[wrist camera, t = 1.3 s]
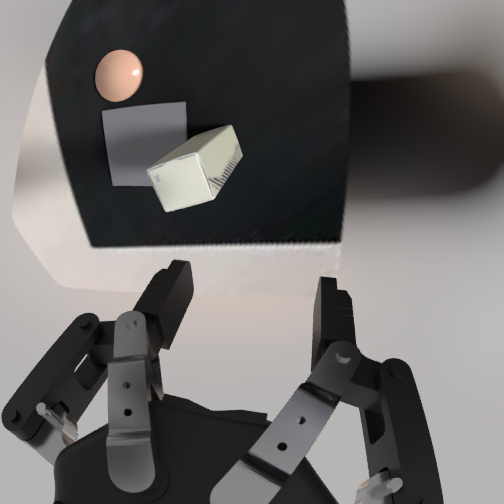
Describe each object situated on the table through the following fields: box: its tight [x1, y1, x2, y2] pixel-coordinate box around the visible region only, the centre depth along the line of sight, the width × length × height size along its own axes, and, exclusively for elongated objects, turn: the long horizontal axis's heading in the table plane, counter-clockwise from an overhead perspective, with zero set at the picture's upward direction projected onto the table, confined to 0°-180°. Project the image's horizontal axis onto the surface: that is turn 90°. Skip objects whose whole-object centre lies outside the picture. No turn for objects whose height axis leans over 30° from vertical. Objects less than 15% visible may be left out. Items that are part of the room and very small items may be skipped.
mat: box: [102, 102, 188, 186], centre depth 35 cm, size 11×12×1 cm
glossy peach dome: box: [95, 50, 143, 102], centre depth 29 cm, size 7×7×1 cm
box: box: [147, 125, 242, 212], centre depth 29 cm, size 5×4×13 cm
